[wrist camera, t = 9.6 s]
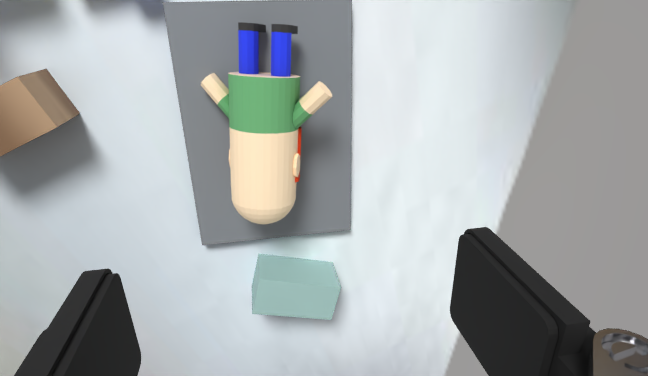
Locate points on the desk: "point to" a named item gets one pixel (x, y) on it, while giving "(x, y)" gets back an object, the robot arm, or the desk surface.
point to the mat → (312, 66)
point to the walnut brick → (31, 109)
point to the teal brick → (294, 287)
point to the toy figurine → (265, 124)
